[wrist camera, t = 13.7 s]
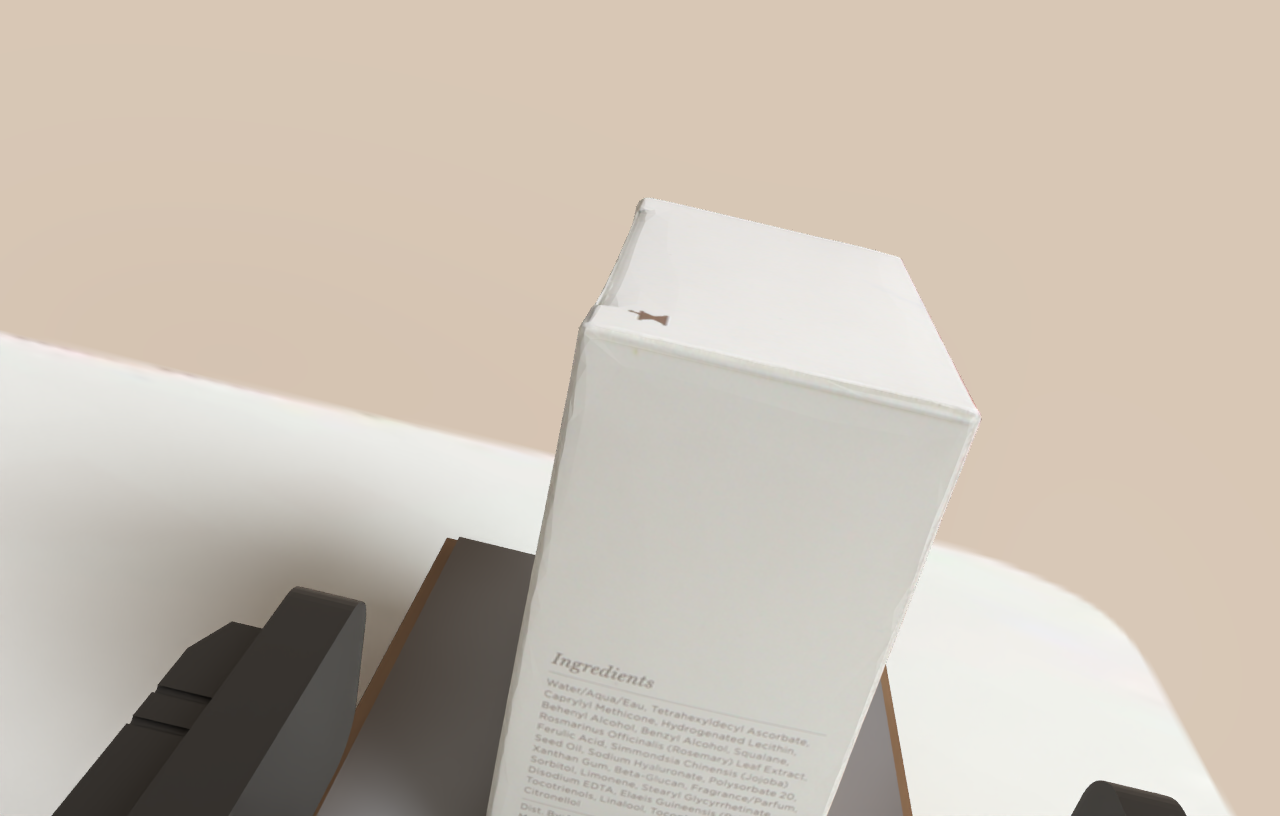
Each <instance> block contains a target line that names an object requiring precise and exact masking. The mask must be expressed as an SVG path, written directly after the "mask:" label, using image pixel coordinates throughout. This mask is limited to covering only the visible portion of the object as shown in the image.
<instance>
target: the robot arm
mask: <svg viewBox="0 0 1280 816" xmlns="http://www.w3.org/2000/svg"><path fill="white" fill-rule="evenodd" d="M365 622H366V605H365V603H364V602H362V601H358V600H354V599H350V598H345V597H341V596H337V595H333V594H329V593H325V592H320V591H316V590H312V589H308V588H304V587H299V586H297V587H295V588H293V589H292V590H291V591H290V592H289V593H288V594H287V596H286V597H285V598H284V600H283V601H282V603H281V604H280V605H279V607H278V608H277V610H276V611H275V612H274V614H273V615H272V616H271V618H270V619H269V621H268V622H267V623H266V625H265V626H264V628H263V629H261V628H257V627H253V626H249V625H245V624H241V623H236V622H231V623H229V624H227V625H226V626H224V627H222V628H220V629H219V630H217V631H215V632H214V633H212V634H210V635H209V636H207V637H205V638H204V639H202V640H200V641H199V642H197V643H195V644H194V645H192V646H190V647H189V648H187V650H186V651H185V652H184V653H183V654H182V656H181V657H180V658H179V659H178V661H177V662H176V663H175V664H174V666H173V667H172V668H171V669H170V671H169V672H168V673H167V674H166V675H165V677H164V678H163V679H162V680H161V682H160V683H159V684H158V687H157V690H156V692H155V693H154V692H152V693H151V694H150V695H149V696H148V698H147V699H146V700H145V701H144V703H143V704H142V705H141V706H140V707H139V709H138V710H137V711H136V712H135V714H134V715H133V718H132V721H131V723H130V724H127V723H126V725H125V726H124V727H123V728H122V730H121V731H120V732H119V733H118V735H117V736H116V737H115V738H114V740H113V741H112V742H111V743H110V744H109V746H108V747H107V748H106V749H105V751H104V752H103V753H102V754H101V756H100V757H99V758H98V759H97V760H96V762H95V763H94V764H93V765H92V767H91V768H90V769H89V770H88V772H87V773H86V774H85V775H84V777H83V778H82V779H81V780H80V781H79V783H78V784H77V785H76V786H75V788H74V789H73V790H72V791H71V793H70V794H69V795H68V796H67V797H66V799H65V800H64V801H63V802H62V804H61V805H60V806H59V807H58V809H57V810H56V811H55V812H54V813H53V815H52V816H313V814H314V812H315V810H316V808H317V806H318V804H319V802H320V800H321V798H322V797H323V795H324V793H325V791H326V789H327V787H328V785H329V783H330V781H331V779H332V777H333V775H334V773H335V771H336V769H337V767H338V765H339V762H340V760H341V758H342V755H343V753H344V750H345V747H346V744H347V741H348V738H349V735H350V731H351V728H352V724H353V719H354V715H355V709H356V701H357V692H358V683H359V674H360V666H361V657H362V648H363V639H364V630H365ZM1071 816H1186V814H1185V812H1184V810H1183V809H1182V807H1181V806H1180V804H1179V803H1178V802H1177V801H1176V800H1174V799H1173V798H1171V797H1169V796H1165V795H1161V794H1157V793H1152V792H1148V791H1144V790H1140V789H1136V788H1132V787H1127V786H1123V785H1119V784H1115V783H1111V782H1106V781H1096V782H1094V783H1092V784H1091V785H1090V786H1089V787H1088V788H1087V789H1086V790H1085V792H1084V793H1083V795H1082V797H1081V799H1080V801H1079V802H1078V804H1077V806H1076V808H1075V810H1074V811H1073V813H1072V815H1071Z"/></svg>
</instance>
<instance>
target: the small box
mask: <svg viewBox="0 0 1280 816" xmlns="http://www.w3.org/2000/svg"><path fill="white" fill-rule="evenodd" d="M981 420H982V419H981V414H980V412H979V410H978V409H977V407H976V405H975V404H974V402H973V400H972V398H971V396H970V394H969V392H968V390H967V388H966V386H965V384H964V382H963V380H962V378H961V376H960V374H959V372H958V370H957V368H956V366H955V364H954V362H953V361H952V359H951V357H950V355H949V353H948V351H947V349H946V347H945V345H944V343H943V341H942V339H941V337H940V335H939V333H938V331H937V329H936V327H935V325H934V323H933V322H932V319H931V317H930V315H929V313H928V311H927V309H926V308H925V305H924V303H923V301H922V299H921V297H920V295H919V293H918V291H917V289H916V287H915V285H914V283H913V281H912V279H911V277H910V276H909V274H908V271H907V269H906V267H905V265H904V263H903V260H902V259H901V258H899V257H897V256H893V255H889V254H885V253H882V252H879V251H876V250H872V249H868V248H864V247H860V246H856V245H851V244H847V243H843V242H839V241H834V240H830V239H825V238H821V237H816V236H812V235H808V234H803V233H799V232H795V231H791V230H787V229H783V228H778V227H774V226H770V225H766V224H762V223H758V222H754V221H749V220H745V219H741V218H737V217H733V216H728V215H724V214H719V213H715V212H711V211H707V210H703V209H698V208H694V207H690V206H685V205H681V204H677V203H673V202H668V201H663V200H658V199H654V198H644V199H642V200H641V201H639V203H638V205H637V206H636V212H635V216H634V221H633V224H632V226H631V229H630V232H629V234H628V236H627V238H626V240H625V243H624V245H623V248H622V250H621V252H620V254H619V257H618V259H617V261H616V264H615V266H614V268H613V270H612V272H611V274H610V276H609V278H608V280H607V283H606V285H605V287H604V288H603V290H602V292H601V294H600V296H599V298H598V300H597V302H596V303H595V305H594V306H593V307H592V308H591V310H590V311H589V313H588V314H587V316H586V318H585V319H584V321H583V322H582V324H581V326H580V327H579V332H578V338H577V343H576V349H575V355H574V360H573V366H572V372H571V377H570V383H569V388H568V394H567V399H566V404H565V408H564V414H563V418H562V423H561V429H560V434H559V439H558V445H557V450H556V455H555V460H554V465H553V471H552V476H551V481H550V486H549V491H548V496H547V501H546V506H545V512H544V517H543V521H542V526H541V531H540V535H539V540H538V546H537V551H536V555H535V560H534V564H533V569H532V573H531V579H530V585H529V591H528V596H527V601H526V606H525V611H524V616H523V621H522V626H521V631H520V636H519V641H518V646H517V652H516V657H515V662H514V667H513V673H512V678H511V684H510V689H509V694H508V699H507V704H506V711H505V716H504V721H503V726H502V731H501V736H500V742H499V747H498V752H497V758H496V763H495V769H494V774H493V780H492V786H491V791H490V796H489V802H488V808H487V813H486V816H827V814H828V812H829V809H830V807H831V804H832V802H833V799H834V797H835V794H836V792H837V789H838V786H839V784H840V781H841V779H842V776H843V773H844V771H845V768H846V765H847V763H848V760H849V757H850V754H851V752H852V749H853V747H854V745H855V742H856V740H857V737H858V734H859V732H860V729H861V726H862V724H863V721H864V719H865V717H866V714H867V712H868V709H869V706H870V704H871V701H872V699H873V696H874V694H875V691H876V689H877V686H878V683H879V681H880V678H881V676H882V673H883V670H884V667H885V664H886V662H887V659H888V657H889V654H890V652H891V649H892V647H893V644H894V642H895V639H896V637H897V634H898V632H899V629H900V626H901V624H902V621H903V619H904V616H905V614H906V611H907V608H908V606H909V603H910V601H911V598H912V596H913V593H914V590H915V588H916V585H917V583H918V580H919V578H920V575H921V572H922V570H923V567H924V564H925V562H926V559H927V557H928V554H929V551H930V549H931V546H932V544H933V541H934V538H935V536H936V533H937V531H938V528H939V526H940V523H941V521H942V518H943V515H944V513H945V510H946V508H947V505H948V503H949V500H950V498H951V495H952V492H953V490H954V487H955V485H956V482H957V480H958V477H959V475H960V472H961V470H962V467H963V465H964V462H965V459H966V457H967V454H968V451H969V449H970V447H971V444H972V442H973V439H974V437H975V435H976V432H977V430H978V427H979V425H980V422H981Z"/></svg>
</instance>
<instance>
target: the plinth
mask: <svg viewBox="0 0 1280 816" xmlns="http://www.w3.org/2000/svg"><path fill="white" fill-rule="evenodd" d="M534 560H535V555H533V554H528V553H524V552H520V551H516V550H512V549H508V548H504V547H500V546H495V545H491V544H487V543H483V542H479V541H475V540H471V539H466V538H462V537H459V539H458V540H455V539H450V538H447V539H446V541H445V543H444V545H443V546H442V548H441V550H440V552H439V554H438V556H437V558H436V560H435V561H434V563H433V565H432V567H431V569H430V571H429V573H428V575H427V576H426V578H425V580H424V582H423V584H422V586H421V588H420V590H419V591H418V593H417V595H416V597H415V599H414V601H413V603H412V605H411V607H410V608H409V610H408V612H407V614H406V616H405V618H404V620H403V622H402V623H401V625H400V627H399V629H398V631H397V633H396V635H395V637H394V638H393V640H392V642H391V644H390V646H389V648H388V650H387V652H386V653H385V655H384V657H383V659H382V661H381V663H380V665H379V667H378V668H377V670H376V672H375V674H374V676H373V678H372V680H371V682H370V684H369V685H368V687H367V689H366V691H365V693H364V695H363V697H362V699H361V700H360V702H359V704H358V706H357V708H356V710H355V715H354V719H353V724H352V728H351V731H350V735H349V738H348V741H347V744H346V747H345V750H344V753H343V755H342V758H341V760H340V762H339V765H338V767H337V769H336V771H335V773H334V775H333V777H332V779H331V781H330V783H329V785H328V787H327V789H326V791H325V793H324V795H323V797H322V798H321V800H320V802H319V804H318V806H317V808H316V810H315V812H314V814H313V816H486V813H487V808H488V802H489V796H490V791H491V786H492V780H493V774H494V769H495V763H496V758H497V752H498V747H499V742H500V736H501V731H502V726H503V721H504V716H505V711H506V704H507V699H508V694H509V689H510V684H511V678H512V673H513V667H514V662H515V657H516V652H517V646H518V641H519V636H520V631H521V626H522V621H523V616H524V611H525V606H526V601H527V596H528V591H529V585H530V579H531V573H532V569H533V564H534ZM827 816H912V810H911V804H910V799H909V793H908V787H907V782H906V776H905V770H904V765H903V759H902V753H901V748H900V742H899V736H898V731H897V725H896V719H895V714H894V708H893V702H892V697H891V691H890V685H889V680H888V674H887V668H886V664H885V667H884V670H883V673H882V676H881V678H880V681H879V683H878V686H877V689H876V691H875V694H874V696H873V699H872V701H871V704H870V706H869V709H868V712H867V714H866V717H865V719H864V721H863V724H862V726H861V729H860V732H859V734H858V737H857V740H856V742H855V745H854V747H853V749H852V752H851V754H850V757H849V760H848V763H847V765H846V768H845V771H844V773H843V776H842V779H841V781H840V784H839V786H838V789H837V792H836V794H835V797H834V799H833V802H832V804H831V807H830V809H829V812H828V814H827Z"/></svg>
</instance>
